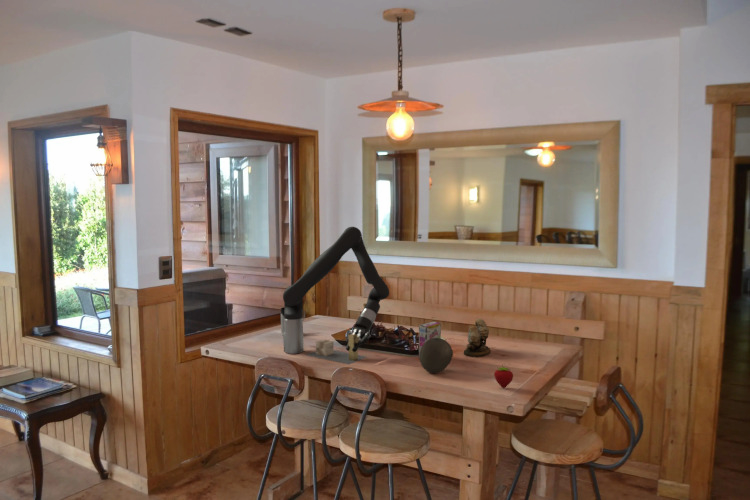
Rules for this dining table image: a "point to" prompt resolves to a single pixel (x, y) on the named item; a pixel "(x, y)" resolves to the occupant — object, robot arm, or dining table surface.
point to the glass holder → (283, 321)
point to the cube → (324, 347)
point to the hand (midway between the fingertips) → (350, 350)
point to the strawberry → (503, 376)
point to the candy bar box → (428, 332)
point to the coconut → (435, 355)
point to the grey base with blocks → (342, 353)
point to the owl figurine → (477, 340)
